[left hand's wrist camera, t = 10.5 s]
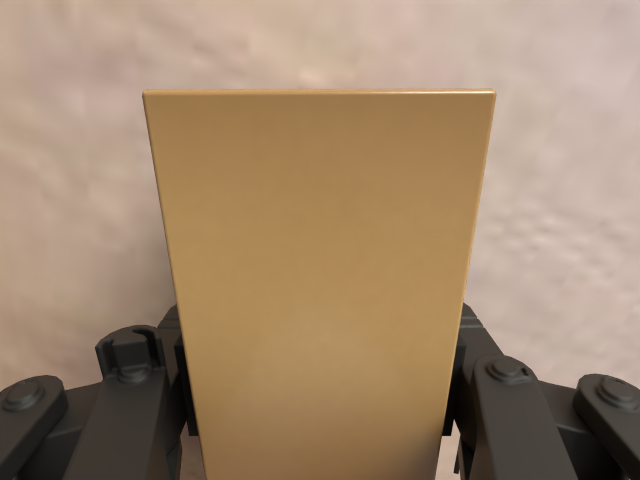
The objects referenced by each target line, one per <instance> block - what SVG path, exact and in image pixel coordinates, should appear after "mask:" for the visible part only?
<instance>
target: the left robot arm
mask: <svg viewBox="0 0 640 480" xmlns="http://www.w3.org/2000/svg"><path fill="white" fill-rule="evenodd" d="M95 350H96V353H97V357H98V361H99V365H100V368H101V372H102V376H103V380H102V382H99V383H96V384H92V385H88V386H83V387H79V388H74V389H70V390H65V389H64V386H63V383H62V381H61V380H60V379H59V378H57V377H55V376H49V375H44V376H36V377H31V378H28V379H24V380H22V381H19V382H17V383H15V384H13V385H11V386H9V387H7V388H5V389H4V390H3V391H1V392H0V480H179V478H180V468H181V458H182V446H181V440H180V434H181V432H182V430H183V427H184V425H185V422H186V420H187V425H188V431H189V436H199V435H198V429H197V423H196V417H195V411H194V405H193V399H192V393H191V387H190V381H189V375H188V369H187V363H186V357H185V351H184V345H183V339H182V333H181V327H180V321H179V315H178V309H177V304H176V305H174V306H173V307H172V308H170V310H169V311H168V313H167V314H166V315H165V317H164V318H163V320H162V321H161V323H160V324H159V325H158V327H157V329H156V328H155V327H152V326H148V325H134V326H130V327H126V328H122V329H119V330H117V331H115V332H112V333H110V334H109V335H107V336H106V337H104V338H103V339H101V340H100V342H99V343H98V344H97V345H96V347H95ZM454 420H455V422H456V425H457V427H458V429H459V432H460V434H461V435H460V440H459V445H458V451H457V456H456V461H455V467H454V473H456V474H459V469H460V477H461V480H629V479H630V480H640V390H639V389H638V388H637V387H635V386H633V385H631V384H629V383H627V382H625V381H623V380H621V379H618V378H614V377H611V376H608V375H601V374H589V375H584V376H583V377H582V378H580V379H579V382H578V385H577V388H576V389H573V388H569V387H564V386H560V385H555V384H550V383H546V382H543V381H539V380H538V379H537V377H536V376H535V374H534V373H533V371H532V370H531V369H530V368H529V367H527V366H526V365H525V364H524V363H522V362H520V361H518V360H516V359H514V358H512V357H509V356H505V355H504V354H503V353H502V352H501V350H500V349H499V347H498V346H497V345H496V343H495V342H494V340H493V339H492V337H491V336H490V335H489V333H488V332H487V330H486V329H485V328H483V325H482V323H481V322H480V321H479V319H477V316H476V315H475V313H474V312H473V311H472V309H471V308H470V307H469V306H468V305H466V304H465V303H463V307H462V313H461V319H460V325H459V332H458V338H457V344H456V350H455V357H454V363H453V369H452V375H451V382H450V388H449V394H448V400H447V407H446V413H445V419H444V426H443V432H442V436H451V433H452V427H453V421H454Z"/></svg>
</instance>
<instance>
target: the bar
mask: <svg viewBox="0 0 640 480" xmlns="http://www.w3.org/2000/svg"><path fill="white" fill-rule="evenodd" d="M142 98H143V104H144V110H145V116H146V122H147V128H148V134H149V140H150V146H151V152H152V158H153V164H154V170H155V176H156V182H157V188H158V194H159V200H160V206H161V212H162V218H163V224H164V230H165V236H166V242H167V248H168V254H169V260H170V266H171V272H172V278H173V284H174V290H175V297H176V303H177V309H178V315H179V321H180V327H181V333H182V339H183V345H184V351H185V357H186V363H187V369H188V375H189V381H190V387H191V393H192V399H193V405H194V411H195V417H196V423H197V429H198V435H199V441H200V447H201V453H202V459H203V465H204V471H205V477H206V480H435V476H436V469H437V463H438V457H439V451H440V444H441V438H442V432H443V426H444V419H445V413H446V407H447V400H448V394H449V388H450V382H451V375H452V369H453V363H454V357H455V350H456V344H457V338H458V332H459V325H460V319H461V313H462V307H463V300H464V294H465V288H466V282H467V275H468V269H469V263H470V257H471V250H472V244H473V238H474V232H475V225H476V219H477V213H478V207H479V200H480V194H481V188H482V182H483V175H484V169H485V163H486V157H487V150H488V144H489V138H490V131H491V125H492V119H493V113H494V106H495V100H496V91H495V90H493V89H217V90H146V91H144V92H143V94H142Z"/></svg>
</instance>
